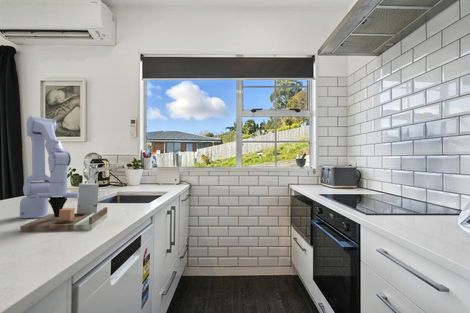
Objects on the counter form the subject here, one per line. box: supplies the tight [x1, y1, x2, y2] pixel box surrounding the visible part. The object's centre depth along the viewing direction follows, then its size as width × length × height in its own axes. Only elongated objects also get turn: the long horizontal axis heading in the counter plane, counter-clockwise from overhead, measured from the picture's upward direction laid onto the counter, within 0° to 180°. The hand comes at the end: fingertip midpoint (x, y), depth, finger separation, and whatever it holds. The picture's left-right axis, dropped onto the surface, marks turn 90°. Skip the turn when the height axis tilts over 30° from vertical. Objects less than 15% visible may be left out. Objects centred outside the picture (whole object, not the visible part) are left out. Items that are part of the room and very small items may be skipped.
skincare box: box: [76, 182, 99, 213], centre depth 122 cm, size 8×6×15 cm
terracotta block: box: [59, 207, 76, 220], centre depth 106 cm, size 4×4×4 cm
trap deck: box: [19, 206, 108, 233], centre depth 106 cm, size 23×22×4 cm
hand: (57, 216), depth 105 cm, fingers closed
